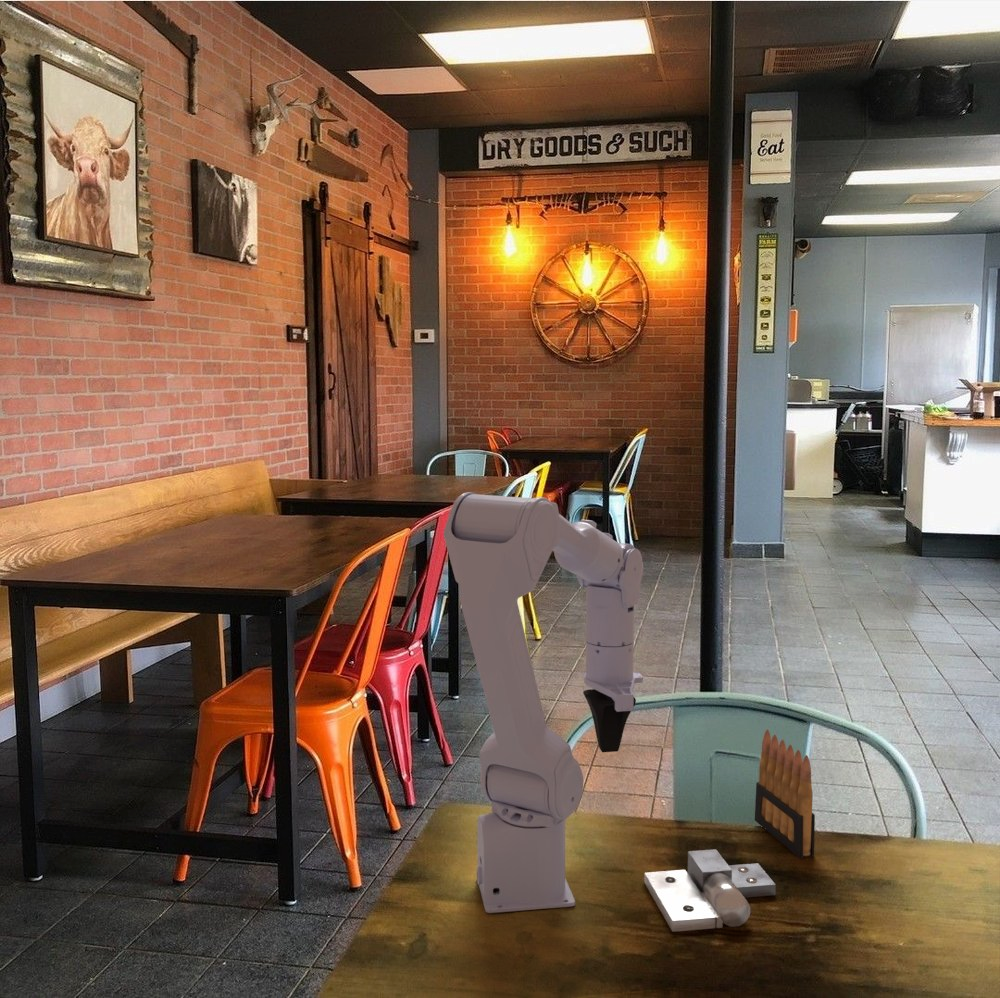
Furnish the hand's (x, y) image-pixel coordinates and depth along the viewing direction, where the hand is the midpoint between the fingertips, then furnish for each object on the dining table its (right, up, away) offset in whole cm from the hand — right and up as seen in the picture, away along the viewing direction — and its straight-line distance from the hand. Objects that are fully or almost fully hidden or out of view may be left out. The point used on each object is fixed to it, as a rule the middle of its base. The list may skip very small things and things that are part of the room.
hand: (608, 749), depth 124 cm
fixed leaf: (+7, -12, -17) cm, 22 cm away
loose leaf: (+12, -12, -14) cm, 21 cm away
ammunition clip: (+21, -10, -2) cm, 23 cm away
